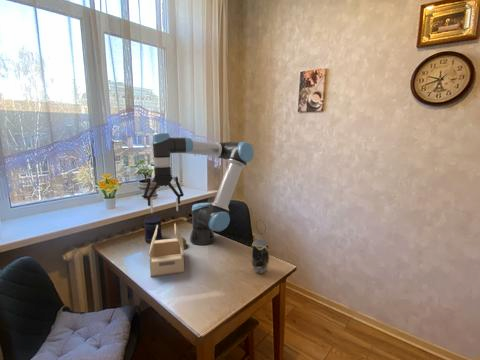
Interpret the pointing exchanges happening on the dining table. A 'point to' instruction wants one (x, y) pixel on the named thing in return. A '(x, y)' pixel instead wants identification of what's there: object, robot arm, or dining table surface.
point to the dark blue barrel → (152, 229)
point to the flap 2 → (179, 237)
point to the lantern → (260, 253)
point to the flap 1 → (153, 240)
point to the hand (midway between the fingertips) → (164, 211)
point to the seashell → (184, 243)
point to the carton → (166, 258)
